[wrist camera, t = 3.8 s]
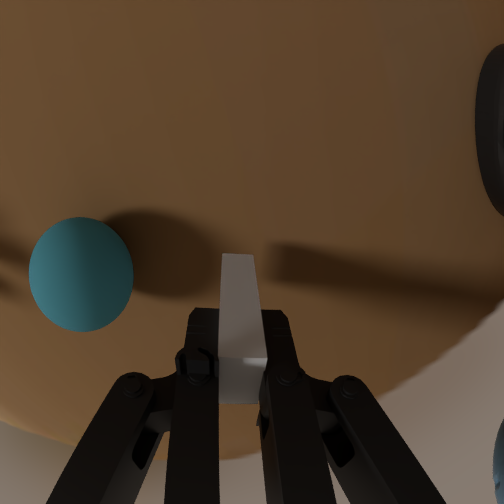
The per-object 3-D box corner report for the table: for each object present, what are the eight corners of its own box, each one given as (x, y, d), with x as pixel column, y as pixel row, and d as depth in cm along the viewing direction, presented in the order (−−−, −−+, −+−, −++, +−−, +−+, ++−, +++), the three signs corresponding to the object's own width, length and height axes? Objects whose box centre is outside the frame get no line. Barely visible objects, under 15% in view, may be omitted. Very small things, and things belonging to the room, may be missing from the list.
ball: (158, 223, 15) (121, 285, 10) (134, 301, 18) (106, 371, 12) (69, 187, 14) (5, 230, 9) (58, 268, 16) (14, 324, 11)
